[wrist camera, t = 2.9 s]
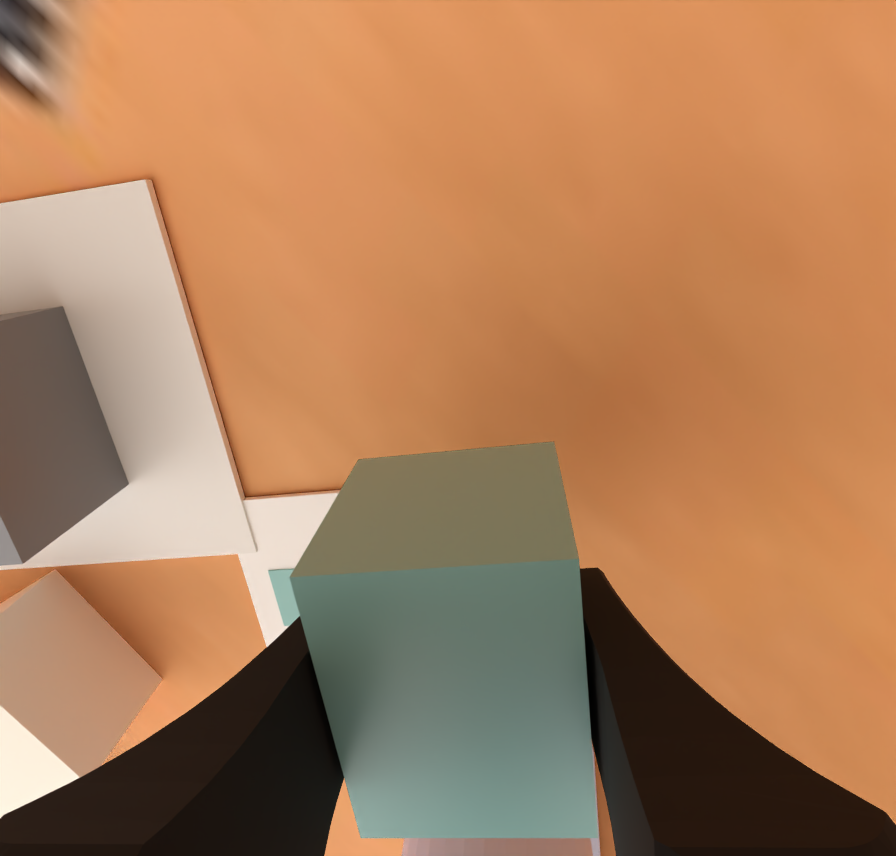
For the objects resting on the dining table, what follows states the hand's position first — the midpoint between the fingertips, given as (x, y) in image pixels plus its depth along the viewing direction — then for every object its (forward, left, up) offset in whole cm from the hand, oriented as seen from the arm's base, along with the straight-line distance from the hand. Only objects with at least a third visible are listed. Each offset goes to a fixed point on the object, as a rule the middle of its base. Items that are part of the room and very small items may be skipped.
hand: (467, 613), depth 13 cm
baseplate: (+4, +14, -6) cm, 16 cm away
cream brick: (-6, +17, -7) cm, 19 cm away
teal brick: (0, 0, -2) cm, 2 cm away
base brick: (+4, +14, -6) cm, 16 cm away
